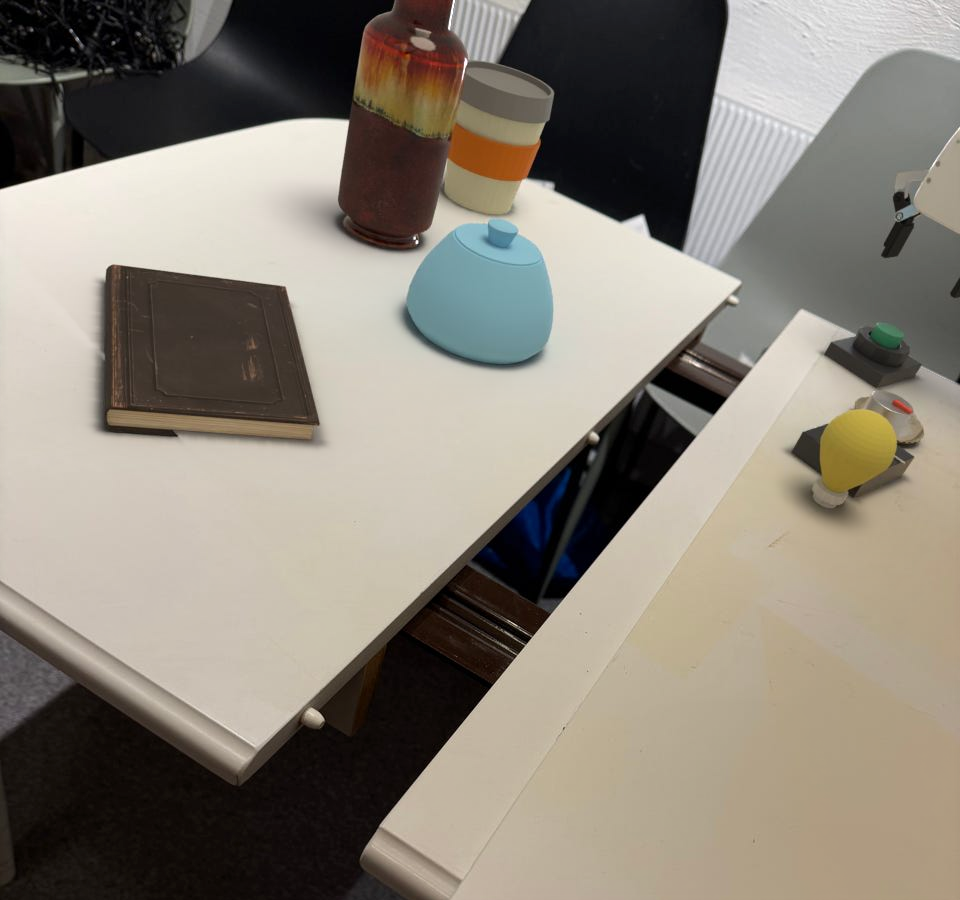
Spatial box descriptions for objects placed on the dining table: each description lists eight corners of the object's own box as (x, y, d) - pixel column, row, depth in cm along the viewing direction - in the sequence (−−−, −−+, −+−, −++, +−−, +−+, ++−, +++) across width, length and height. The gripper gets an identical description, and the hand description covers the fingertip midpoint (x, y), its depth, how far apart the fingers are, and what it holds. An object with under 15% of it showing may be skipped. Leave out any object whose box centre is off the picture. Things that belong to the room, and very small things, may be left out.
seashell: (839, 441, 109) (913, 459, 106) (846, 417, 106) (921, 435, 103) (860, 405, 114) (930, 422, 111) (866, 382, 111) (938, 399, 108)
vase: (340, 205, 116) (381, -53, 98) (430, 230, 117) (486, -19, 100) (326, 240, 108) (368, -34, 90) (423, 266, 109) (482, 2, 92)
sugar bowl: (571, 363, 101) (609, 256, 94) (461, 381, 92) (493, 265, 85) (484, 293, 108) (513, 188, 100) (374, 304, 99) (396, 190, 92)
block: (862, 347, 126) (878, 319, 124) (912, 379, 123) (930, 351, 120) (822, 357, 120) (838, 328, 118) (874, 391, 117) (891, 361, 114)
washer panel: (842, 434, 106) (857, 409, 104) (907, 479, 102) (924, 454, 100) (786, 454, 99) (801, 428, 97) (853, 502, 95) (870, 476, 93)
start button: (878, 333, 121) (885, 320, 120) (902, 348, 120) (909, 335, 118) (864, 337, 119) (871, 323, 118) (887, 352, 117) (895, 338, 116)
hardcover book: (283, 308, 94) (285, 286, 92) (315, 446, 79) (319, 422, 77) (105, 287, 88) (105, 262, 87) (104, 431, 73) (104, 404, 71)
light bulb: (863, 532, 92) (922, 443, 85) (799, 517, 90) (853, 426, 84) (843, 491, 97) (897, 404, 90) (782, 477, 95) (832, 388, 89)
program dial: (841, 431, 99) (865, 390, 96) (863, 424, 102) (888, 384, 99) (875, 455, 97) (901, 414, 94) (897, 448, 100) (923, 408, 97)
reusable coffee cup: (424, 174, 131) (449, 51, 121) (511, 192, 134) (543, 74, 124) (437, 212, 122) (466, 83, 112) (531, 231, 126) (567, 107, 116)
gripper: (1100, 155, 100) (999, 309, 112) (958, 89, 108) (877, 240, 119) (1074, 155, 96) (971, 316, 107) (928, 87, 103) (847, 243, 115)
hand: (922, 275), depth 113 cm, fingers open, 9 cm apart
